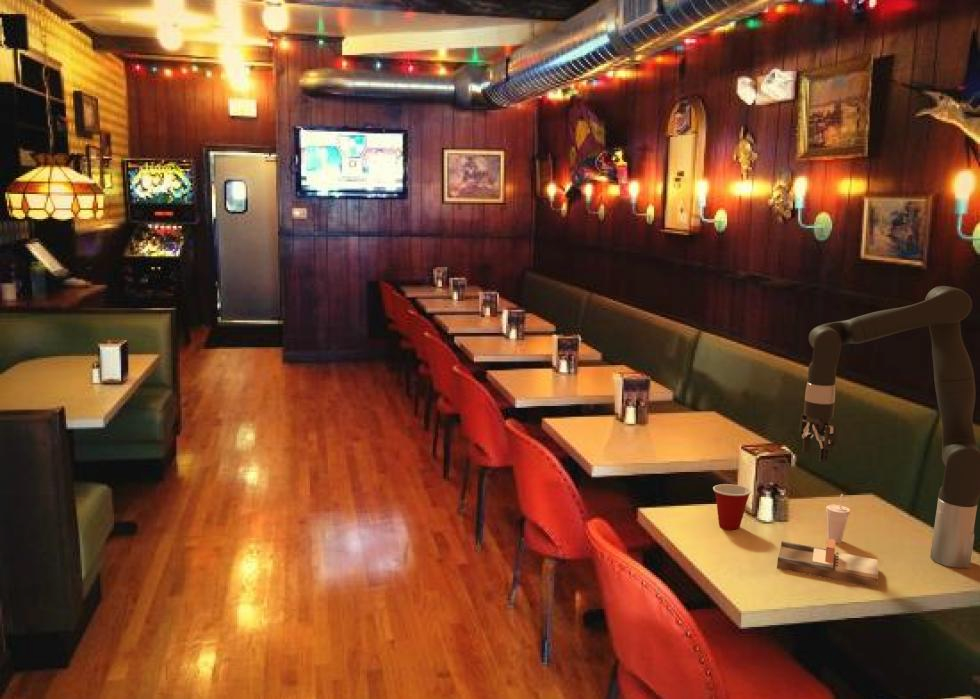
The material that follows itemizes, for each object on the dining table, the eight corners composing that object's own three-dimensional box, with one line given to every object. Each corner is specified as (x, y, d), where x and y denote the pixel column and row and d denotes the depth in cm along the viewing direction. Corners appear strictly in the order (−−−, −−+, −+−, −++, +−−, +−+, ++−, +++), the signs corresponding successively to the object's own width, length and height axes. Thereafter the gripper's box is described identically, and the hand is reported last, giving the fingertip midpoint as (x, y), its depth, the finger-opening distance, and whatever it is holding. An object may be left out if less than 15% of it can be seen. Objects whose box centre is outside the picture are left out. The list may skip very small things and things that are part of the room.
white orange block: (833, 555, 221) (835, 537, 220) (832, 568, 213) (834, 550, 212) (813, 551, 223) (815, 534, 222) (812, 564, 215) (814, 546, 214)
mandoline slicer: (875, 568, 219) (877, 557, 218) (876, 587, 208) (878, 576, 208) (780, 550, 228) (781, 540, 228) (776, 568, 217) (777, 557, 217)
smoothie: (843, 547, 232) (848, 499, 230) (819, 540, 236) (824, 494, 233) (849, 539, 237) (854, 493, 235) (826, 533, 241) (831, 488, 238)
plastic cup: (731, 517, 251) (735, 479, 249) (755, 531, 241) (759, 492, 239) (702, 521, 247) (705, 483, 245) (725, 536, 237) (728, 496, 235)
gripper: (847, 405, 218) (842, 464, 221) (818, 392, 232) (813, 448, 235) (821, 406, 217) (816, 465, 220) (793, 393, 231) (788, 449, 234)
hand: (814, 456), depth 227 cm, fingers open, 8 cm apart
